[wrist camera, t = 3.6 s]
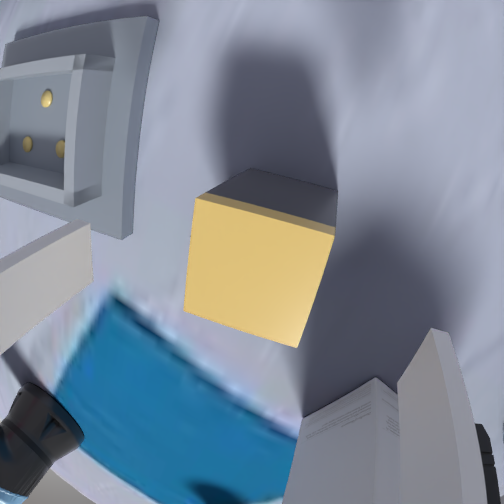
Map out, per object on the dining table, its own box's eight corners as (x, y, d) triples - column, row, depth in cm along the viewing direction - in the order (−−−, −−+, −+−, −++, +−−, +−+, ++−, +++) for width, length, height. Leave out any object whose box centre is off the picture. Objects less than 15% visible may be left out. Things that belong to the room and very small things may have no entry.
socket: (132, 233, 24) (96, 256, 20) (7, 192, 27) (-24, 204, 23) (159, 20, 17) (119, 5, 13) (16, 44, 20) (-19, 44, 16)
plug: (314, 270, 21) (297, 347, 14) (235, 247, 22) (183, 310, 15) (338, 190, 19) (334, 236, 12) (250, 168, 20) (195, 198, 12)
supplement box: (298, 417, 27) (257, 562, 14) (375, 373, 23) (367, 554, 10) (357, 455, 28) (339, 581, 14) (430, 419, 23) (437, 564, 10)
